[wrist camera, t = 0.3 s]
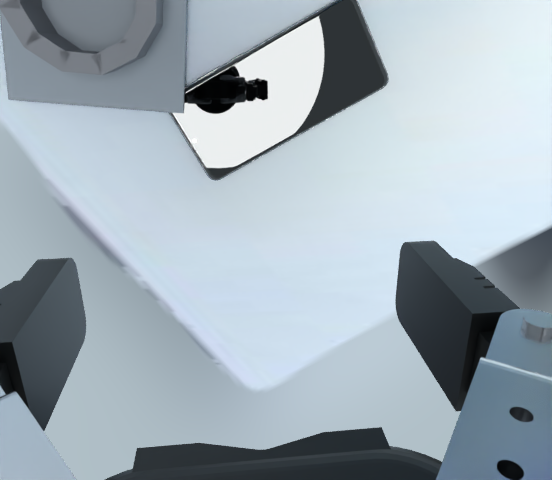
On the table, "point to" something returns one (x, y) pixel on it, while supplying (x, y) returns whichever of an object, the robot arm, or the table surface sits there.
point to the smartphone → (281, 88)
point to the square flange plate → (96, 52)
